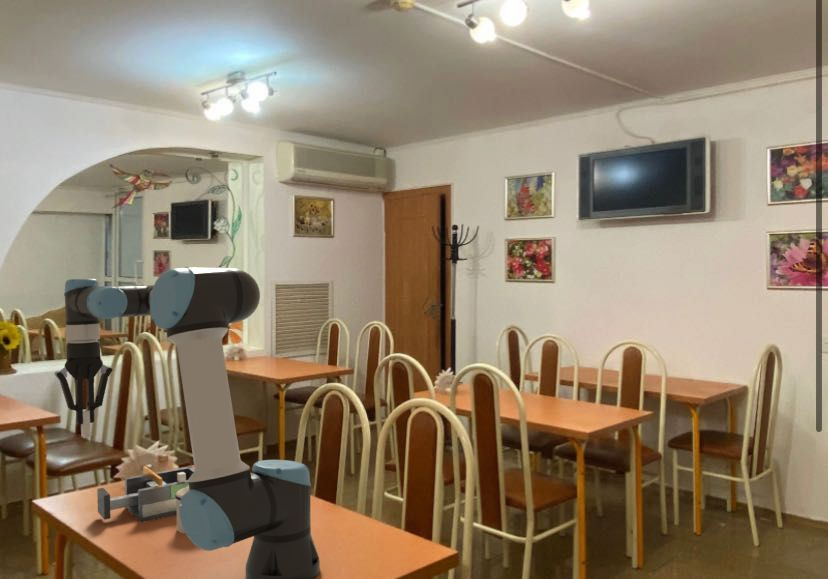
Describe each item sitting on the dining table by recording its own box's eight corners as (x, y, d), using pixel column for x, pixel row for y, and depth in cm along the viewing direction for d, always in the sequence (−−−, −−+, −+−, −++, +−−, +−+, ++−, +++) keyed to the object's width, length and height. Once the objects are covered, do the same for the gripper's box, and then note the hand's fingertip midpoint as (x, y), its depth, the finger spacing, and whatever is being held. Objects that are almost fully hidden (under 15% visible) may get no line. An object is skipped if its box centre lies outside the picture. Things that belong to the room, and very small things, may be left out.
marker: (185, 481, 179) (185, 473, 179) (179, 482, 178) (179, 474, 178) (183, 479, 181) (183, 471, 181) (177, 480, 180) (177, 473, 180)
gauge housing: (210, 507, 183) (210, 477, 183) (140, 522, 172) (140, 491, 172) (192, 494, 195) (191, 466, 195) (125, 507, 184) (124, 478, 184)
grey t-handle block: (175, 509, 178) (175, 476, 178) (108, 523, 168) (107, 488, 168) (158, 495, 189) (157, 464, 189) (94, 508, 179) (93, 475, 179)
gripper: (107, 338, 176) (109, 430, 176) (50, 342, 168) (53, 438, 168) (115, 340, 170) (117, 435, 171) (57, 344, 162) (59, 443, 163)
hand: (85, 436), depth 169 cm, fingers closed
